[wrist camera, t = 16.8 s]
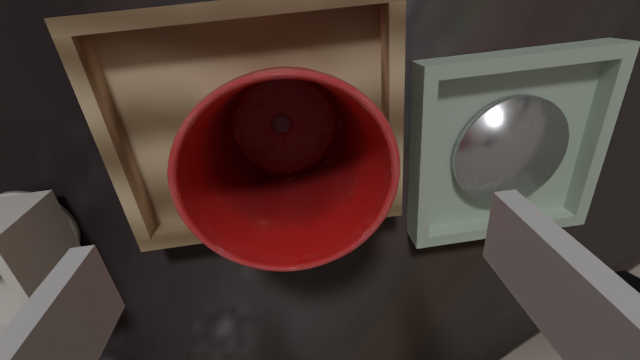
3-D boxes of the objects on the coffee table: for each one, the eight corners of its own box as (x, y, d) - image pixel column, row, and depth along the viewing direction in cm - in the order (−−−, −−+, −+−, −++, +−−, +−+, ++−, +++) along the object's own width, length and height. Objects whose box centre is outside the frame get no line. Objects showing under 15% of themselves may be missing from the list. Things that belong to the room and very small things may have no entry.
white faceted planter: (-40, 197, 26) (-138, 259, 20) (57, 184, 26) (-9, 241, 20) (7, 269, 29) (-64, 342, 23) (94, 257, 30) (46, 325, 24)
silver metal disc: (456, 101, 26) (461, 104, 25) (573, 86, 26) (582, 89, 26) (447, 206, 30) (451, 211, 29) (548, 191, 30) (555, 196, 30)
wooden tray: (72, 16, 22) (43, 18, 19) (391, -18, 23) (406, -19, 20) (153, 228, 29) (141, 251, 26) (390, 196, 30) (401, 215, 28)
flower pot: (203, 30, 22) (157, 52, 13) (372, 54, 24) (427, 87, 15) (204, 181, 27) (170, 269, 18) (345, 192, 28) (375, 276, 20)
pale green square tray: (411, 60, 25) (424, 66, 23) (609, 37, 26) (641, 41, 24) (406, 231, 32) (416, 248, 30) (563, 209, 33) (584, 224, 31)
